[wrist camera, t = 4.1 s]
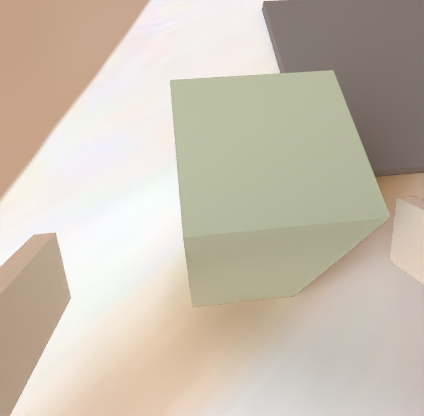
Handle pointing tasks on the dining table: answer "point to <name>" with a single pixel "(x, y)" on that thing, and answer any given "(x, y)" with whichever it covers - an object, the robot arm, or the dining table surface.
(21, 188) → the dining table surface
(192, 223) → the sage block
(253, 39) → the dining table surface
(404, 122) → the mat
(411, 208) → the robot arm
